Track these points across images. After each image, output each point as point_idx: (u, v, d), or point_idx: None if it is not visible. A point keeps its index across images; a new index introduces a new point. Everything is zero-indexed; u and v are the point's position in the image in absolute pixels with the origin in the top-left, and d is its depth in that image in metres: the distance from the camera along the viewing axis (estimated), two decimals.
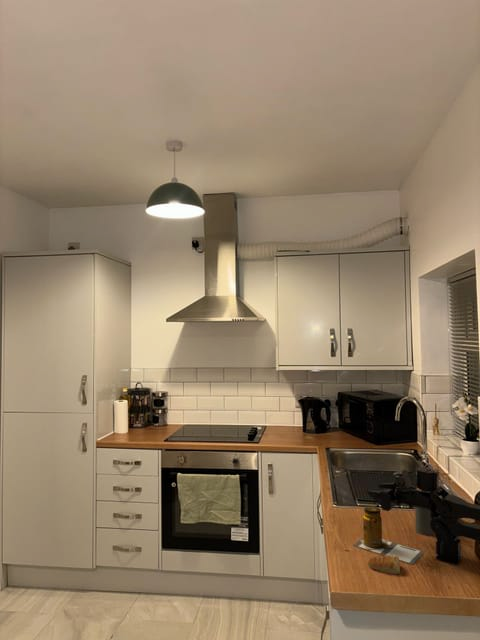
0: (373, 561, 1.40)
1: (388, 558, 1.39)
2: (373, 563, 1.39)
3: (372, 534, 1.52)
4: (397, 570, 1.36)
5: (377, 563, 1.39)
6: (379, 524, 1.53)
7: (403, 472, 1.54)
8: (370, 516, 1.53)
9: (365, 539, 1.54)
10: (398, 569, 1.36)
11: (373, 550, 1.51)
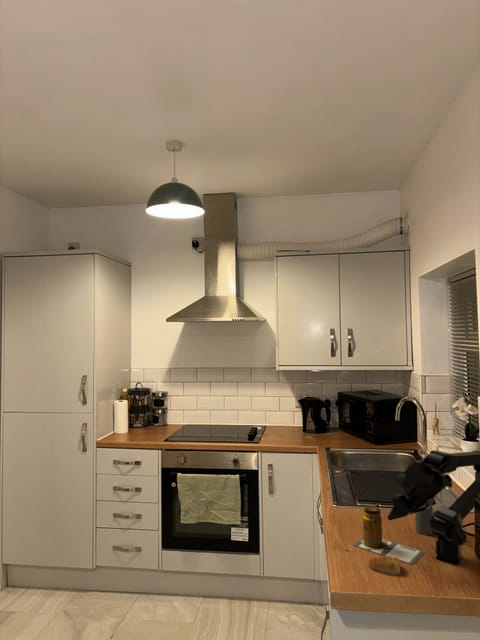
0: (374, 561, 1.39)
1: (388, 559, 1.39)
2: (374, 564, 1.39)
3: (372, 534, 1.52)
4: (397, 571, 1.36)
5: (378, 563, 1.38)
6: (379, 524, 1.53)
7: (400, 475, 1.51)
8: (370, 516, 1.53)
9: (365, 539, 1.54)
10: (398, 570, 1.36)
11: (373, 550, 1.51)
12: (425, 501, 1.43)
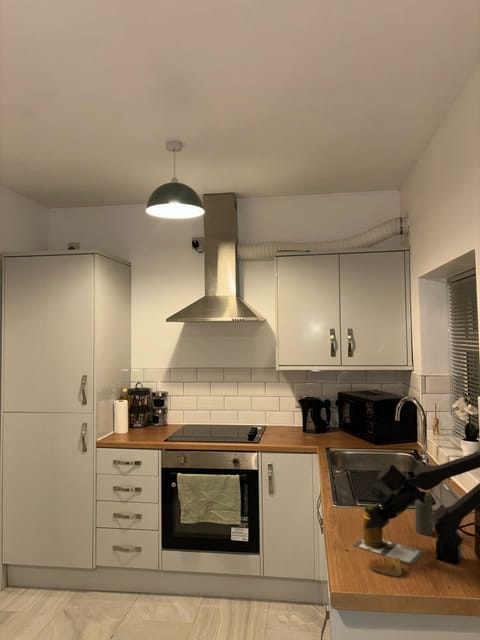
0: (375, 563, 1.38)
1: (389, 560, 1.38)
2: (375, 566, 1.38)
3: (372, 533, 1.53)
4: (399, 572, 1.35)
5: (379, 565, 1.37)
6: None
7: (376, 485, 1.54)
8: None
9: (365, 538, 1.54)
10: (400, 571, 1.35)
11: (373, 550, 1.51)
12: (400, 511, 1.48)
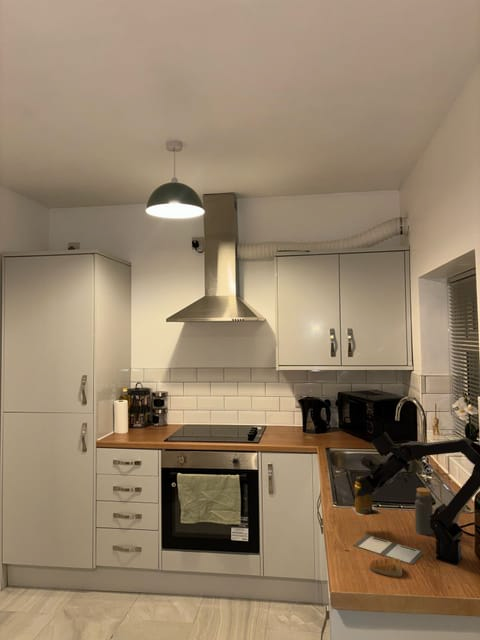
0: (375, 564, 1.38)
1: (390, 561, 1.37)
2: (376, 567, 1.37)
3: (363, 501, 1.63)
4: (400, 573, 1.35)
5: (380, 566, 1.37)
6: None
7: (366, 456, 1.65)
8: None
9: (356, 506, 1.65)
10: (401, 572, 1.35)
11: (373, 550, 1.51)
12: (388, 479, 1.59)
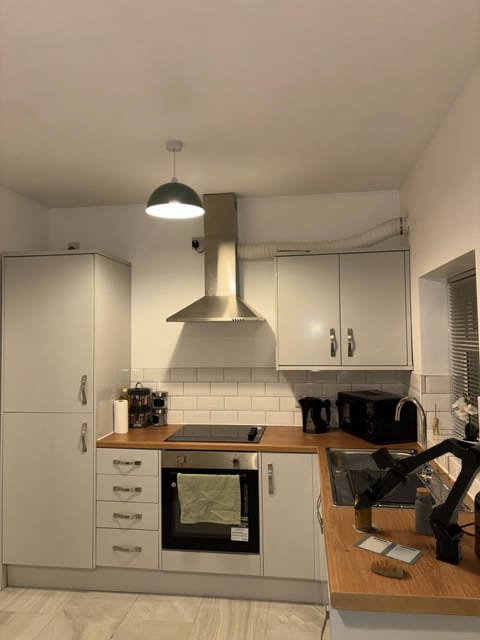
0: (376, 565, 1.37)
1: (391, 561, 1.37)
2: (376, 568, 1.36)
3: (363, 519, 1.65)
4: (401, 573, 1.34)
5: (381, 566, 1.36)
6: (369, 510, 1.66)
7: (365, 469, 1.67)
8: None
9: (356, 523, 1.67)
10: (401, 572, 1.34)
11: (373, 550, 1.51)
12: (386, 493, 1.61)
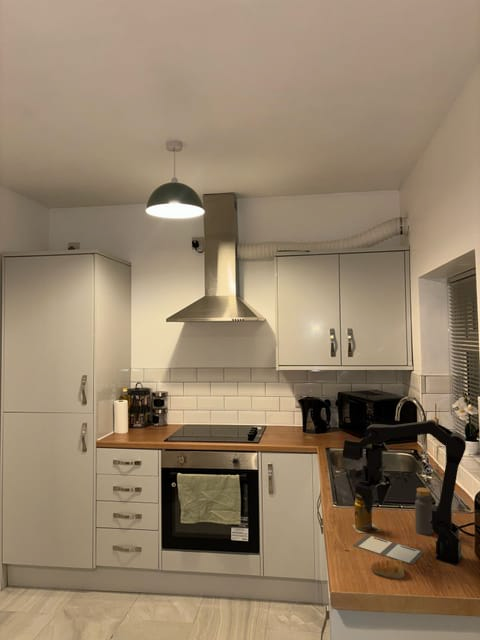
0: (377, 566, 1.36)
1: (392, 562, 1.36)
2: (377, 569, 1.36)
3: (363, 519, 1.65)
4: (402, 574, 1.34)
5: (382, 568, 1.35)
6: None
7: None
8: (361, 502, 1.66)
9: (356, 524, 1.67)
10: (403, 573, 1.34)
11: (373, 550, 1.51)
12: (379, 473, 1.53)
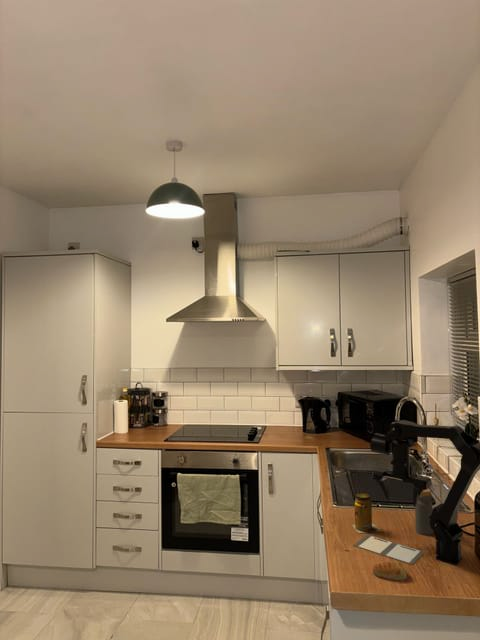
0: (379, 568, 1.35)
1: (393, 564, 1.35)
2: (379, 571, 1.34)
3: (363, 519, 1.65)
4: (404, 576, 1.33)
5: (384, 570, 1.34)
6: (369, 510, 1.66)
7: None
8: (361, 502, 1.66)
9: (356, 523, 1.67)
10: (405, 575, 1.33)
11: (373, 550, 1.51)
12: (394, 467, 1.57)
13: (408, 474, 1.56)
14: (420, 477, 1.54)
